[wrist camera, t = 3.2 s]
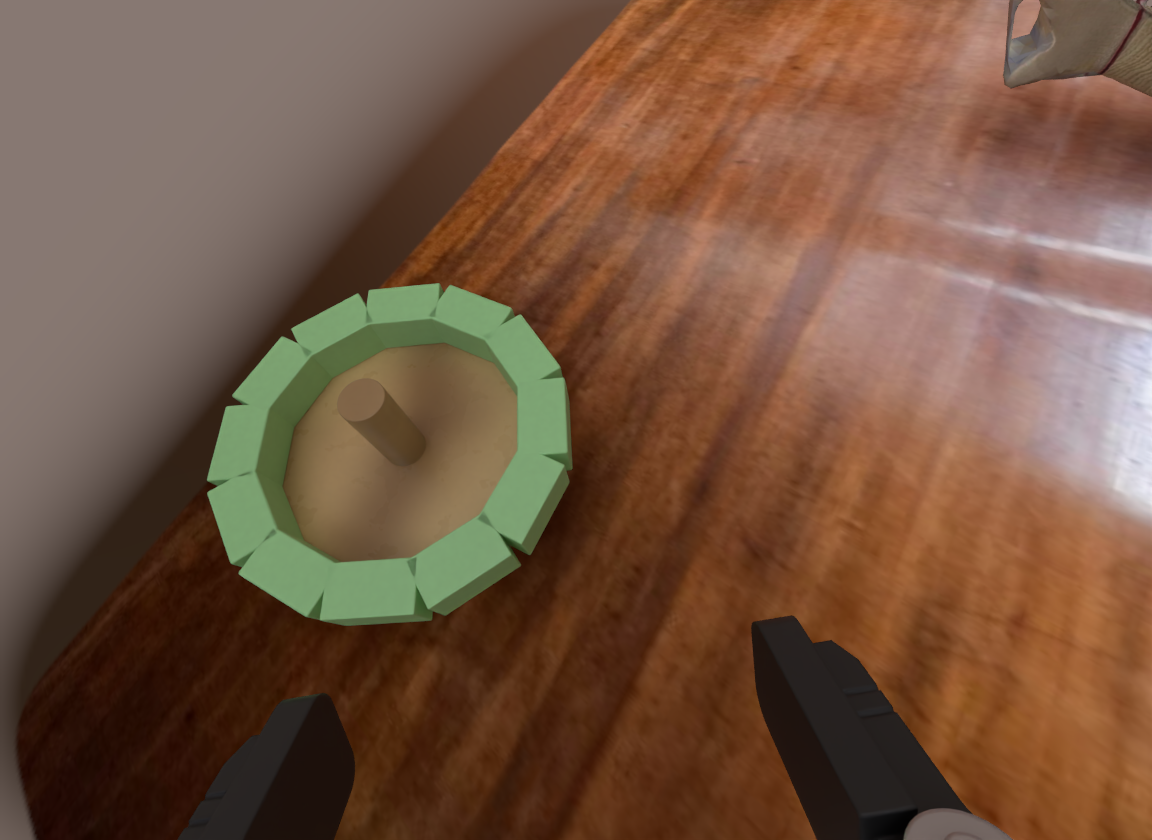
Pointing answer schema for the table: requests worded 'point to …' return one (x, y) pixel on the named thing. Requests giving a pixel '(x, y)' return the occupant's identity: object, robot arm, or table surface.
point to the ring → (291, 385)
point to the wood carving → (1083, 43)
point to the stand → (400, 452)
